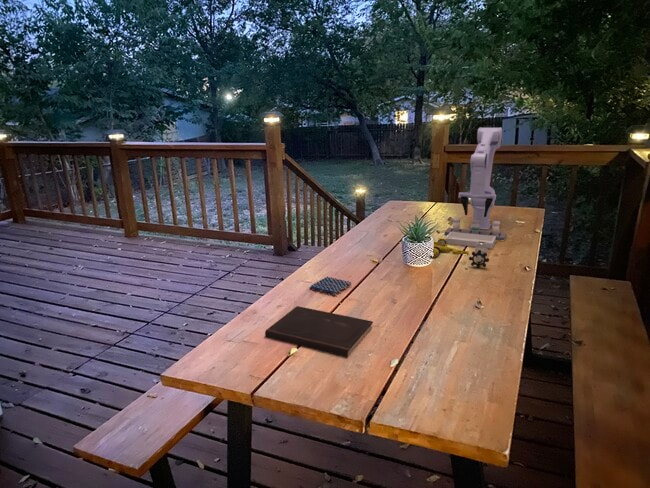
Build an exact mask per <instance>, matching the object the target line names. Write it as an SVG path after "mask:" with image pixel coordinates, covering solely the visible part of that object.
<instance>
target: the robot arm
mask: <svg viewBox="0 0 650 488" xmlns="http://www.w3.org/2000/svg"><path fill="white" fill-rule="evenodd" d="M476 134H477V135H476V140H477V145H476V148H475V150H474V153H473V154H471V156H470V161H469V163H470V172H471V173H470V185H469V186H470V187H469V188H470V189H469V191H468V192H467V191H466V192H461V191H460V192H458V199H459V198H460V203H461V204H462V206H463V207H462V208H463V211H464V216H468V212H469V210H468V209H469V208H468V206H469V204H470V206H471V207H472V210H473V212H472V220H473V219H479V220H480V224H479V230H486V231H489V229H490V228H491V227H492V223H490V217H491V209H492V208H493V207H495V201H496V200H497V194H496V192H495V189H494V188H493V187H491V186H490V185H491V184H490V183H491V178H492V170H493V164H494V157H495V156H494V155H495V153H496V150H498V149H500V147H501V145H502V138H503V128H502V127H501V126H500V127H482V126H481V127H480V126H479V128H478V129H477V133H476ZM469 200H470V201H469ZM469 228H470V229H472V224H470V227H469Z"/></svg>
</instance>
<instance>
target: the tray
mask: <svg viewBox="0 0 650 488" xmlns="http://www.w3.org/2000/svg"><path fill="white" fill-rule="evenodd" d="M444 239H445V240H446V241H447V243H448V244H451V245H450V246H457V245H461V246H460V247H466V246H471V247H470V248H475V247H477V241H485V242H487V247H486V248H490V249H489V250H493V249H494V246H495V244H496V242H497V241H496V236H488V235H478V234H468V233H458V232H450V233H449V234H448V236H447V235H446V237H445V238H444ZM448 244H447V245H448Z"/></svg>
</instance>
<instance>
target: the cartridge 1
mask: <svg viewBox="0 0 650 488" xmlns="http://www.w3.org/2000/svg"><path fill="white" fill-rule="evenodd" d="M460 225H461V218H460V217H452V228H453V230H452V232H459V229H460Z"/></svg>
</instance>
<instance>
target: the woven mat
mask: <svg viewBox="0 0 650 488" xmlns="http://www.w3.org/2000/svg"><path fill="white" fill-rule="evenodd" d="M351 287H352V282H351V281H349V280H345V279H343V280H342V279H341V278H340V279H338V278H333V277H331V276H330V277H329V276H326V277H323V278H322V279H320V280H319V281H317V282H315V283H313V284H311V285H310V287H309V290H310V291H311V292H317V293H320V294H324V295H328V296H332V297H337V296H338V295H340V294H342V293H343V292H346V290H348V289H349V288H351Z"/></svg>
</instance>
